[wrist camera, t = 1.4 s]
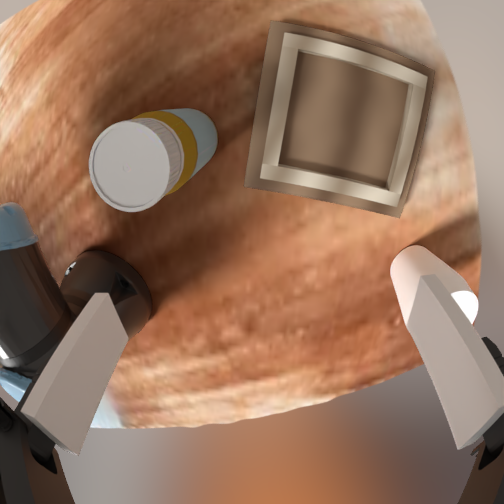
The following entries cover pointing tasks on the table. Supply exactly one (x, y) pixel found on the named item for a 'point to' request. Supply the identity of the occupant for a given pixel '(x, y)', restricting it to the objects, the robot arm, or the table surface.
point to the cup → (426, 263)
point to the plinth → (337, 120)
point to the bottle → (150, 156)
